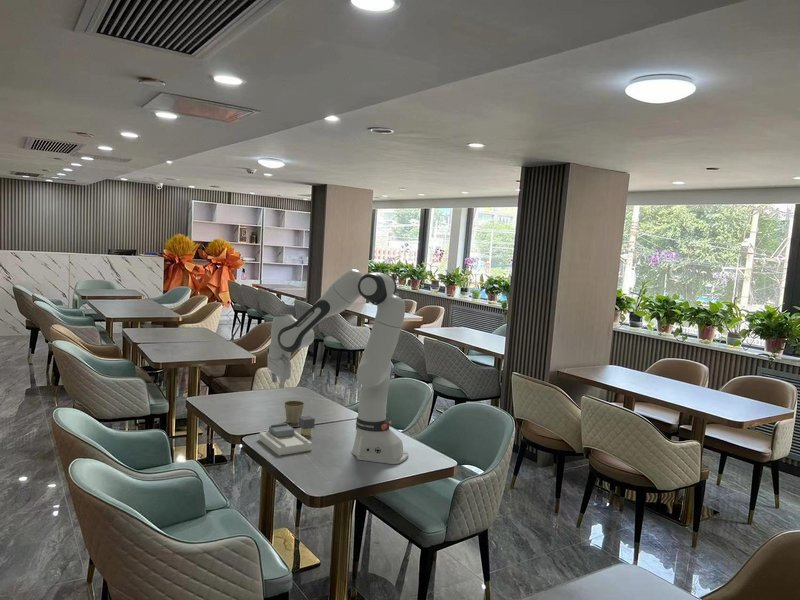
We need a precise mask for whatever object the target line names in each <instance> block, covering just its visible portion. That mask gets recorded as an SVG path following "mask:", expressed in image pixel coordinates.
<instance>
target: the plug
mask: <svg viewBox="0 0 800 600" xmlns="http://www.w3.org/2000/svg"><path fill="white" fill-rule="evenodd" d="M315 420H316V418H314V417H313V416H311V415H304V416H302V415H301V417H299V423H298V427H300V428H301V433H300V435H302V434H303V435H302V436H303V437H304V436H305V435H306V436H311V435H312V429H315Z"/></svg>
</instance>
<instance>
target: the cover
mask: <svg viewBox="0 0 800 600" xmlns="http://www.w3.org/2000/svg"><path fill="white" fill-rule="evenodd" d="M268 431H269V432H270V433H271V434H272V435H274V436H275V437H276V438H278V437H285V436H292V435H294V431H295V428H294V427H292V426H291V425H289V423H288V422H285V423H276V424H271V425H270V426H269V427H268Z"/></svg>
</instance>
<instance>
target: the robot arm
mask: <svg viewBox="0 0 800 600" xmlns="http://www.w3.org/2000/svg"><path fill="white" fill-rule="evenodd" d="M397 286H398V285H397V282H396V279H395V278H394V277H393V276H392V275H390V274H388V273H383V272H379V271H378V272H377V271H375V272H367V273H363V272H362V271H360V270H358V269H356V268H355V269H354V268H352V269H348V271H346V272H344V273H343V274H342V275H341V276H340V277H338V278H337V279H336V280H335V281H334V282H333V283H332V284H331V285H330V287H329V288H327V289H326V291H325V292H324V293H323V294H322V296H320V298H318V300H317V301H316V302H315V303H314V304H313V305H312V306H311V307H310V308H309V309H307V310H306V311H305V313H303V314H302V316H300V317H299V318H298V319H297V318H295V317H294V316H293V314H291V313H283V314H282V313H281V314H277V315H275V316H274V317H273V318H272V322H271V326H270V327H271V329H270V338H271V339H270V343H269V347H266V353H267V357H266V358H267V362H266V363H267V369H268V370H269V371H270V374H271V382H272V383H277V382H278V378H279V383H278V388H279V389H284V387H285V383H286V381H287V380H290V378H291V376H292V374H291V373H292V371H291V370H292V369H291V368H292V367H291V365H292V364H291V360H289V359H290V358H291V356H292V353H293V352H296V351H297V350H301V349H303V348H307V347H309V346H311V345H312V344H313V343H314V340H315V336H316V335H315V331H314V329H313V328H314V327H315V326H316V325H318V324H319V323H320V322H321V321H323V320H325V319H327V318H329V317H333V316H335V315H338V314H340V313H342V312H344V311H345V310H347V309H348V308H349V307H350V306H351V305H353V303H354V302H355V301H356V300H357V299H359V298H360V297H362V298H363V299H365V300H367V301H368V302H369V303H370V304H372V305H374V306H376V314H375V317H374V321H373V323H372V326H371V331H370V334H369V336H368V341H367V342H366V345H365V348H364V351H363V352H362V355H361V357H360V358H361V359H360V361H359V364H358V367H357V369H356V380H357V381H358V383H359V384H360V385H361V387H360V391H359V392H360V393H359V396H358V409H357V416H356V422H355V430H356V431H355V433H356V434H355V439H354V444H353V447H352V449H351V454H352V455H353V456H355V457H356V459H357V460H359V461H365V462H372V463H373V462H374V463H381V464H386V465H387V464H388V465H389V464H390V465H398V464H401V463H403V462H405V461H406V460H407V459H408V458H409V452H408V451H406V450H404V446H403V445H404V444H403V441H402V439H401V438H400V437H399V436H398V435H397V434H396V433H395V432H394V431H393V430H392V429H391V428H390V425H391V424H392V420H389V421H388V419H387V417H386V415H387V405H388V402H387V401H388V394H389V390H390V389H389V388H390V381H391V373H392V362H391V360H392V358H393V356H394V352H395V349H396V348H397V345H398V341H399V338H400V334H401V332H402V327H403V323H404V320H405V314H406V302H405V300H404V299H403V298H401V297H400V296H398V295H395V294H396V292H397V289H398V287H397Z"/></svg>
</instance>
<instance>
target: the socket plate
mask: <svg viewBox="0 0 800 600" xmlns="http://www.w3.org/2000/svg"><path fill="white" fill-rule="evenodd" d="M258 434H259V435H258V437H259V439H258V440H259V441H260V442H262V443H263V444H264V445H265V446H266V447H267V448H268V449H270V450H271V451H273V452H274V454H276V455H277V456H282V455H283V456H284V455H291V454H297V453H304V452H308V451H310V452H311V451H313V442H312V441H310V440H309V439H307V437H304V435H302V434H301V433H299V432H297V431H296V430H294V435H292V436H285V437H278V438H276V437H275V436H274V435H272V434H271V433H270V432H269V430H266V431H261V432H259V433H258Z"/></svg>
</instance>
